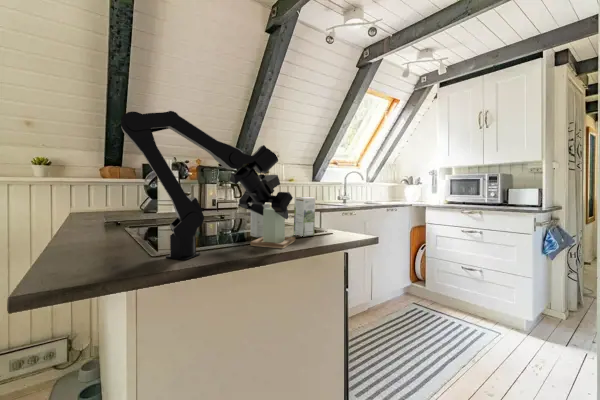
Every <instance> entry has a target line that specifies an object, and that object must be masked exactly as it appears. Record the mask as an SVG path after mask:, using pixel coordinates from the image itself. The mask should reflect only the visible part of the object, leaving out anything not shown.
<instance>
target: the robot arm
mask: <svg viewBox="0 0 600 400" xmlns="http://www.w3.org/2000/svg"><path fill="white" fill-rule="evenodd" d="M120 126H121V130H122V133H124V135H125V136H126V138H128V140H129V141H130V142H131V143H132V144H133V145H134V146H135V147H136V148H137V149H138V151H140V153H141V154H142V155H143V156H144V158H145V160H146V161H147V163H148V165H149V166H150V168H151V170H152V171H153V173H154V174H155V176H156V177H157V179H158V181H159V182H160V184H161V186H162V187H163V189H164V190H165V192H166V194H167V195H168V197H169V198H170V200H171V203H172V206H173V209H174V212H175V215H176V218H175V219H173V221H172V222H171V223H169V228H170V230H171V232H172V233H171V234H170V236H169V241H170V244H169V245H170V249H169V250H170V253H169V254H167V255H165V258H166V259H174V260H182V261H186V260H189V259H191V258H194V257H197V256H199V255H201V252H199V251H197V238H196V234H197V230H198V229H199V228H200V227H201V226H202V224H204V220H205V215H204V212H205V210H204V209H203V208H202V207H201V206H200V203H199V199H198V198H197V197H195V196H191V197H189V196H188V195H187V194H186V192H185V191H184V190H183V188H182V186H181V184H180V182H179V181H178V179H177V177H176V176H175V174H174V173H173V171H172V169H171V168H170V165H169V164H168V162H167V161H166V158H164V155H163V154H162V152H161V151H160V149H159V148H158V145H157V142H156V141H155V137H154V134H153V133H155V132H159V131H164V130H172V132H175V133H176V134H178V135H179V136H181V137H182V138H184V139H185V140H188V142H191V143H192V144H194V145H195V146H197V147H198V148H201V149H202V150H204V151H205V152H206V153H208V154H209V155H211V157H212V158H213V159H214V160H215V161H216V162H218V164H220V165H221V166H222V168H225V169H227V170H236V172H234V173H233V172H231V173H230V177H229V182H230V183H232V184H234V185H238V183H239V184H240V185H241V186H242V188H243V189H244V192H243V194H242V196H241V197H240V198H239V200H238V205H239V206H240V207H241V208H242V209H245V210H249V211H250V212H251V211H253V212H255V213H258V214H260V215H262V216H263V209H264V207H263V205H264V204H265V203H269V204H271V205H270V208H273V209H274V210H275V211H274V212H276V213H277V214H279V215H280V216H282V217H283V218H285V220H288V219H289V210H288V206H290V203H291V202H292V200H293V199H294V197H293V196H292V194H291V192H289V191H278V192H277V193H276V195H272V194H274V193H275V188H277V187H279V186H280V185H281V182H280V178H279V175H278V174H267V173H268V172H269V171H270V170H271V169H272V168H273V167H274V166H275V165H276V164H277V163H278V162H279V159H278V155H276V153H275V152H274V151H272V150H271V149H270V148H269V147H266V145H261V146H260V147H258V149H257V150H256V151H255V152H254V153H252V155H250V154H247V153H244V151H242V149H240V148H238V147H235V146H234V145H231V144H228V143H225V142H222V141H219V140H217V139H216V138H214V137H212V136H211V135H210V134H208V133H206V132H205V131H204V130H202V129H200V128H198V127H197V126H196V125H194V124H192V123H191V122H190V121H188V120H186V119H185V118H184V117H181V116H180V114H178V112H175V111H173V110H168V111H163V112H147V113H141V112H138V111H127V112H125V113H124V114H123V115H122V117H121V119H120ZM244 165H245V166H244ZM266 174H267V175H266Z"/></svg>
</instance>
